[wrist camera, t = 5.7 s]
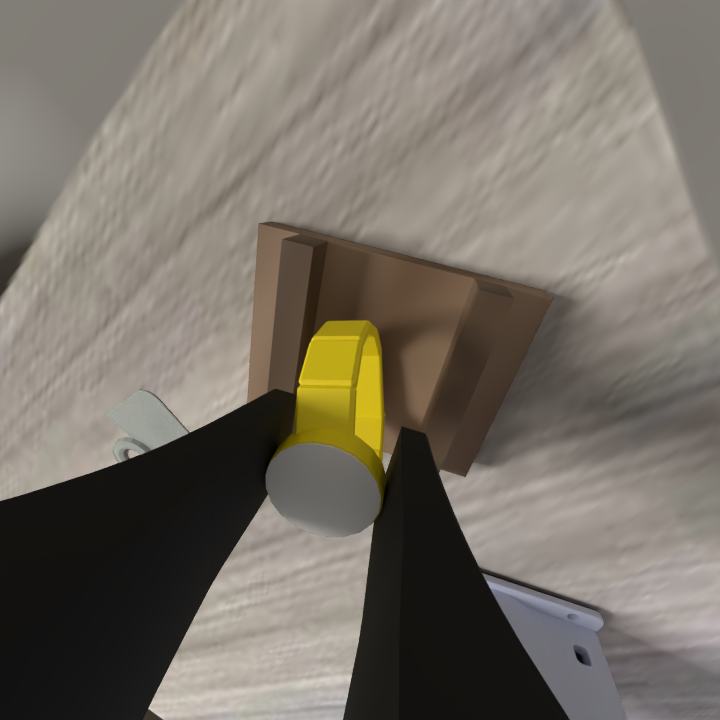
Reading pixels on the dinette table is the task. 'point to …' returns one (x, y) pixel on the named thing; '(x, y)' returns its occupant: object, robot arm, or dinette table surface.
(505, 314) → the rack
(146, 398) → the mounting bracket
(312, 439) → the watch
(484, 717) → the robot arm
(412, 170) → the dinette table surface
